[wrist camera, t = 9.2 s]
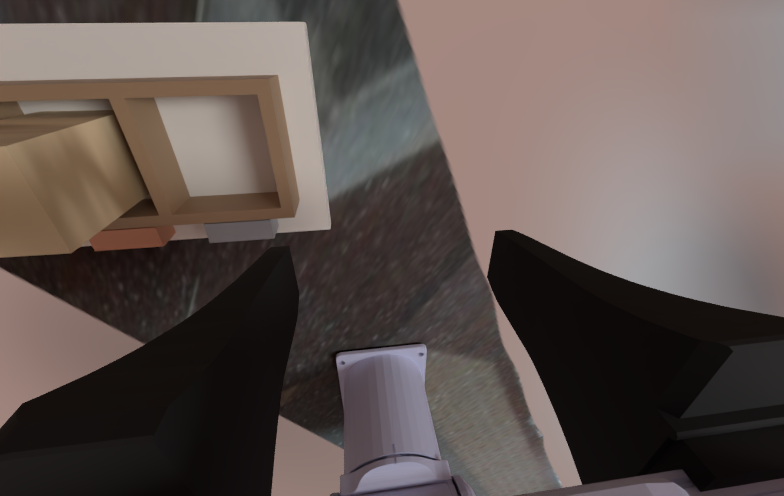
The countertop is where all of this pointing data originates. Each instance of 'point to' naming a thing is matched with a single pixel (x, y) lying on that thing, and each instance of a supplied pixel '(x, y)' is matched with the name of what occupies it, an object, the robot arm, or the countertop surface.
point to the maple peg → (63, 180)
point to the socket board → (187, 120)
